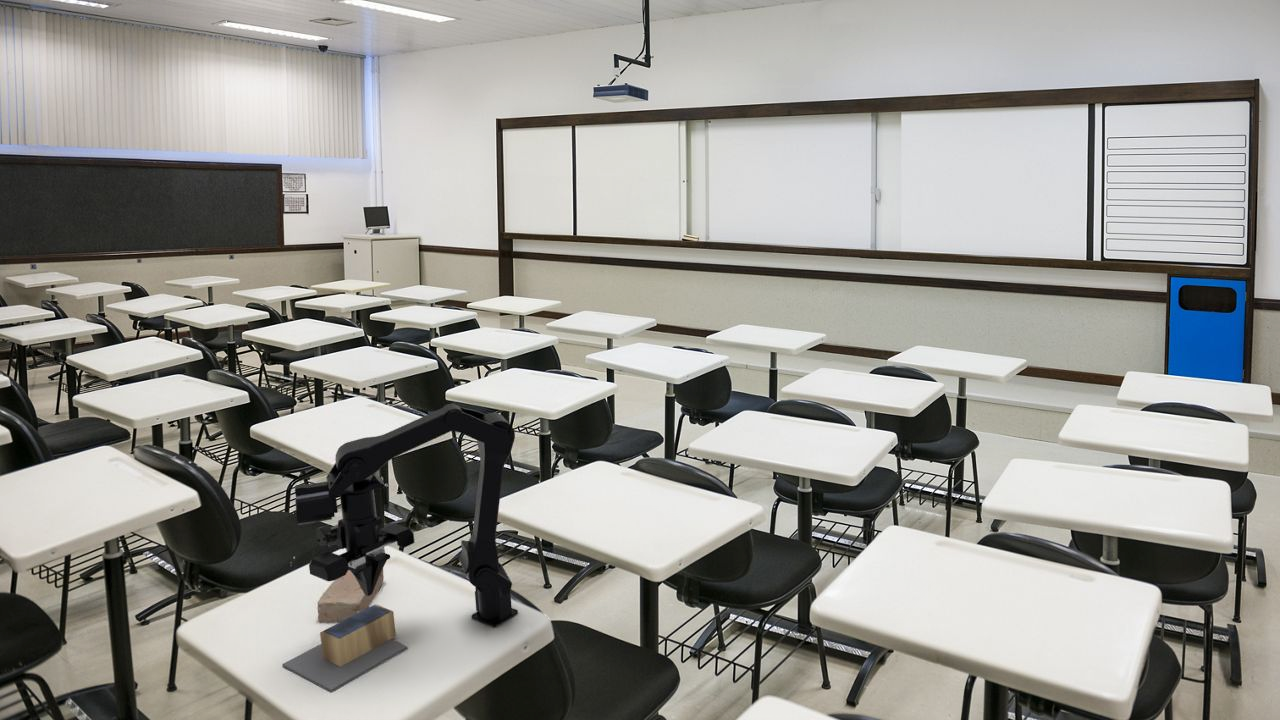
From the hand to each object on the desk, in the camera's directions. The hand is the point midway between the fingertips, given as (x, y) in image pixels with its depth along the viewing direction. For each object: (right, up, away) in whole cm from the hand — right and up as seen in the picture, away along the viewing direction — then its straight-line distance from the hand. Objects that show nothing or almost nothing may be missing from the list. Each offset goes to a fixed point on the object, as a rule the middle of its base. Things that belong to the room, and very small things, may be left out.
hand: (368, 594), depth 164 cm
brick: (-8, -6, +18) cm, 21 cm away
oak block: (+2, -6, +4) cm, 7 cm away
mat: (-3, -10, -3) cm, 11 cm away
